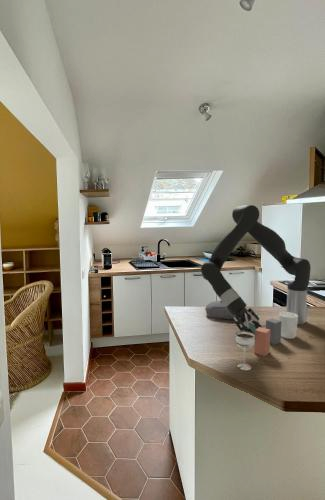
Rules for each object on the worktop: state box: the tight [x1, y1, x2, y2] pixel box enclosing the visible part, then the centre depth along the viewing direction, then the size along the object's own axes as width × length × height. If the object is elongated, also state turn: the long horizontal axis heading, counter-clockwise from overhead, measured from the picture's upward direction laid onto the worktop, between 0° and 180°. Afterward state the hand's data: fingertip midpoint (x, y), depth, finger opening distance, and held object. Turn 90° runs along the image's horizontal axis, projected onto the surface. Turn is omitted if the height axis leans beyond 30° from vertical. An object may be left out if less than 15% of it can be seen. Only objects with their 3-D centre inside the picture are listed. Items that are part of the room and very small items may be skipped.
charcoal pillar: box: [265, 318, 282, 346], centre depth 130 cm, size 4×4×10 cm
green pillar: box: [248, 312, 259, 334], centre depth 139 cm, size 4×4×10 cm
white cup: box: [278, 311, 298, 340], centre depth 137 cm, size 8×8×10 cm
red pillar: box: [253, 326, 271, 357], centre depth 120 cm, size 4×4×10 cm
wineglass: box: [235, 331, 255, 371], centre depth 108 cm, size 7×7×12 cm
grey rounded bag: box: [204, 300, 235, 320], centre depth 165 cm, size 15×8×20 cm
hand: (258, 334), depth 121 cm, fingers open, 8 cm apart
